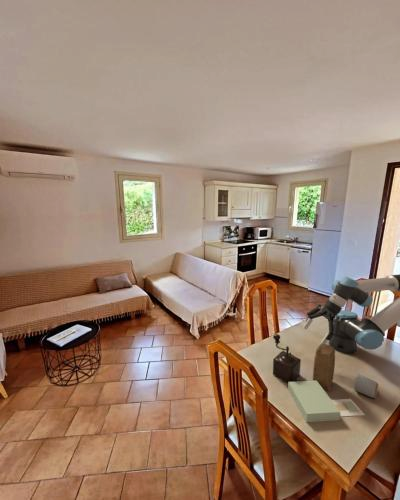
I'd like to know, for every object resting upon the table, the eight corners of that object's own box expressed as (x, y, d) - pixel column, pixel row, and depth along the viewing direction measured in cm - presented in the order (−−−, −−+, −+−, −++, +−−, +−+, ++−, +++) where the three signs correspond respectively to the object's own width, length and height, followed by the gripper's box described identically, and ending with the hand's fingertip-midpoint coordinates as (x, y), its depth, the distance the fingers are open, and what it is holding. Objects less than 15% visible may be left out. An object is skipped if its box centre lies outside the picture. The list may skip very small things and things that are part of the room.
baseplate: (315, 387, 107) (316, 380, 106) (339, 420, 90) (340, 411, 90) (287, 389, 107) (288, 381, 106) (306, 422, 90) (306, 414, 89)
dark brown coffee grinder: (301, 374, 116) (303, 343, 113) (291, 385, 109) (293, 353, 106) (274, 360, 127) (275, 331, 124) (263, 369, 120) (264, 339, 117)
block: (327, 393, 104) (330, 355, 100) (310, 384, 109) (313, 348, 106) (334, 381, 111) (338, 345, 107) (319, 373, 116) (322, 339, 113)
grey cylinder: (375, 403, 98) (377, 387, 97) (353, 393, 104) (355, 378, 102) (377, 389, 106) (379, 375, 105) (357, 380, 111) (359, 367, 110)
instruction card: (350, 399, 100) (350, 398, 100) (364, 415, 92) (364, 414, 92) (329, 400, 100) (329, 399, 100) (341, 416, 92) (341, 416, 92)
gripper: (313, 290, 128) (293, 320, 131) (351, 313, 105) (326, 349, 107) (322, 295, 131) (302, 324, 133) (360, 318, 107) (336, 353, 110)
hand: (313, 335), depth 120 cm, fingers open, 13 cm apart
